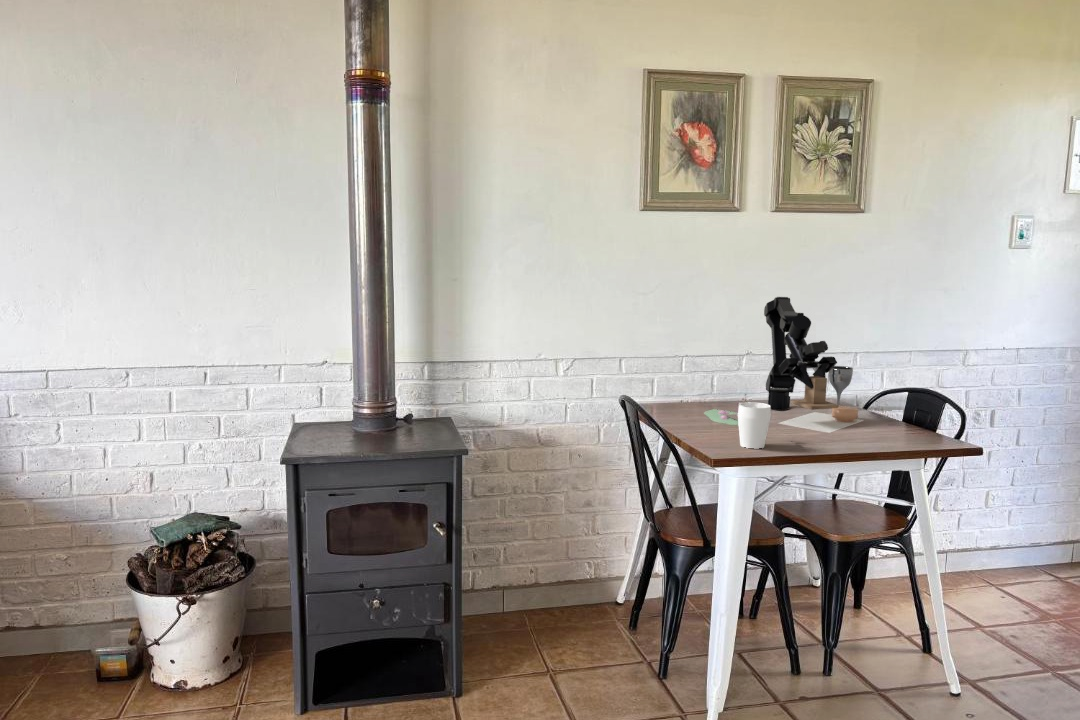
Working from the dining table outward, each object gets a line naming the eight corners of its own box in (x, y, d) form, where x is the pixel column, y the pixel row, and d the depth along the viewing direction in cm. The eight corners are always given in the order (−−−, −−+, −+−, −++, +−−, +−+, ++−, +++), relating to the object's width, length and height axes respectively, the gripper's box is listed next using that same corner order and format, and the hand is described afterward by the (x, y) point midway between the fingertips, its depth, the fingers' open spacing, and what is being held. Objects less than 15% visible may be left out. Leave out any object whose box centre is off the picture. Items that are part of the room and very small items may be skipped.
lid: (791, 403, 254) (793, 375, 253) (817, 401, 257) (818, 374, 256) (811, 409, 245) (813, 380, 243) (838, 407, 248) (840, 379, 247)
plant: (684, 415, 270) (685, 388, 268) (726, 409, 281) (728, 383, 280) (740, 430, 249) (742, 401, 248) (784, 423, 261) (786, 395, 259)
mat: (777, 426, 253) (777, 423, 253) (814, 414, 272) (814, 411, 271) (829, 435, 241) (829, 432, 241) (864, 423, 260) (864, 420, 260)
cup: (731, 442, 231) (733, 401, 229) (761, 442, 232) (764, 401, 230) (742, 450, 222) (744, 408, 220) (773, 450, 223) (776, 408, 221)
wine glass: (853, 412, 277) (856, 369, 275) (830, 411, 277) (833, 369, 275) (845, 407, 285) (848, 366, 283) (822, 407, 285) (825, 365, 283)
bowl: (827, 419, 259) (827, 407, 259) (837, 416, 265) (838, 404, 264) (851, 424, 254) (852, 411, 253) (861, 420, 259) (862, 408, 259)
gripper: (786, 332, 248) (807, 373, 240) (835, 331, 255) (857, 371, 246) (769, 354, 257) (788, 394, 248) (817, 352, 263) (837, 391, 254)
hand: (818, 387), depth 249 cm, fingers closed on lid, 4 cm apart
